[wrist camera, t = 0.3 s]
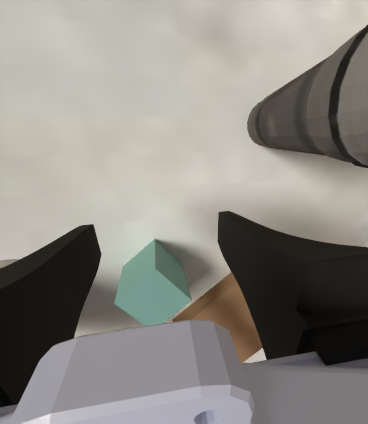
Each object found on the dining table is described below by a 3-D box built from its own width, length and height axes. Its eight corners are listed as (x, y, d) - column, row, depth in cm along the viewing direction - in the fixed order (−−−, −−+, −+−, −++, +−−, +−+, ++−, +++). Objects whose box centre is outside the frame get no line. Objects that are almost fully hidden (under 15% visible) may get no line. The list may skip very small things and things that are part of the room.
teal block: (152, 289, 25) (152, 331, 19) (123, 266, 23) (114, 303, 17) (182, 265, 24) (191, 299, 19) (154, 238, 23) (155, 268, 17)
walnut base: (223, 359, 30) (228, 373, 29) (172, 320, 27) (174, 333, 25) (284, 312, 29) (293, 324, 28) (241, 264, 26) (248, 273, 24)
